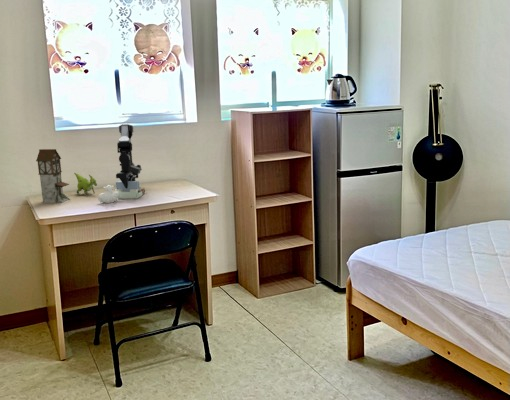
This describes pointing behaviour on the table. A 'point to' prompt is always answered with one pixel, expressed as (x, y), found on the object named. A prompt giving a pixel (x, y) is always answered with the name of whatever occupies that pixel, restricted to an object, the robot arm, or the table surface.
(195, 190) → the table surface
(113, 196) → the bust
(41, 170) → the model building
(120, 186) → the long blue block
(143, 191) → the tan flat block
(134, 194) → the tray
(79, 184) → the toy
